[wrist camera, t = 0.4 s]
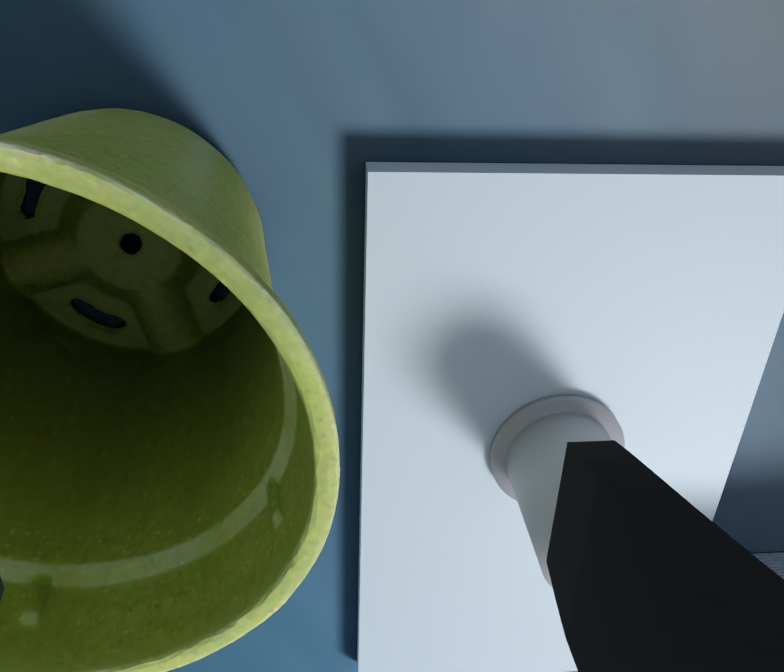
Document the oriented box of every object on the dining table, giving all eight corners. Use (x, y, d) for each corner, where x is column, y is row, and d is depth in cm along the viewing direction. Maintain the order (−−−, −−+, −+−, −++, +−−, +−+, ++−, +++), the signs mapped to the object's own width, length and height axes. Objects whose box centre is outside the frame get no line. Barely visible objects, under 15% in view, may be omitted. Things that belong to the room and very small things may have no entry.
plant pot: (238, 446, 21) (192, 745, 13) (-121, 315, 18) (-446, 602, 10) (400, 159, 17) (465, 345, 9) (-20, -66, 14) (-411, -59, 6)
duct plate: (654, 646, 27) (716, 779, 23) (356, 663, 26) (364, 805, 21) (809, 166, 18) (958, 238, 14) (365, 162, 17) (381, 239, 13)
